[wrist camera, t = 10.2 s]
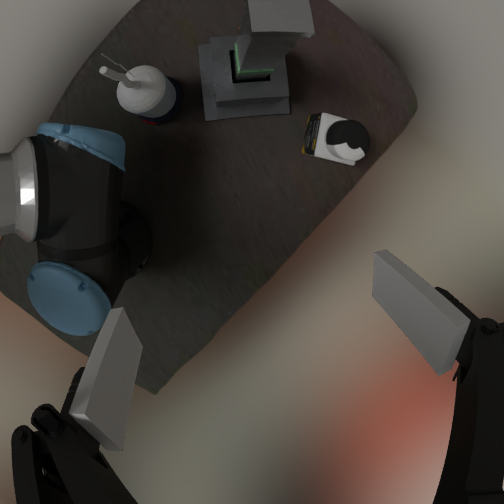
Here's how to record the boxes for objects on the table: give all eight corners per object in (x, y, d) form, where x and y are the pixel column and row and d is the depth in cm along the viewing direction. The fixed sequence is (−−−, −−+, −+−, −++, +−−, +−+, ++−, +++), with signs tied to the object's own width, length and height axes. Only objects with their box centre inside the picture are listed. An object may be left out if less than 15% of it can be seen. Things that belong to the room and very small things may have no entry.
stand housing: (205, 121, 42) (202, 117, 34) (198, 46, 36) (194, 27, 28) (288, 113, 43) (305, 109, 35) (280, 41, 37) (294, 22, 29)
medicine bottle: (308, 114, 44) (335, 109, 33) (344, 124, 45) (379, 124, 34) (301, 153, 46) (326, 159, 35) (337, 161, 47) (370, 170, 36)
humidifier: (143, 130, 41) (73, 128, 18) (131, 88, 38) (58, 53, 15) (188, 114, 41) (158, 90, 18) (176, 71, 38) (139, 13, 15)
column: (233, 83, 34) (251, 31, 15) (230, 55, 32) (245, -15, 13) (265, 81, 34) (314, 33, 15) (262, 53, 33) (306, -13, 13)
